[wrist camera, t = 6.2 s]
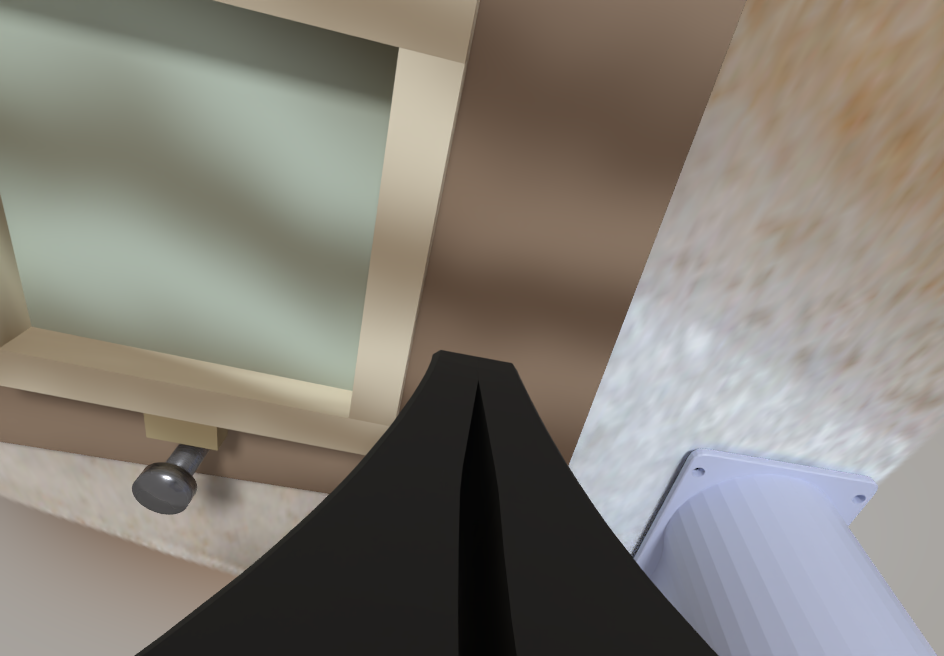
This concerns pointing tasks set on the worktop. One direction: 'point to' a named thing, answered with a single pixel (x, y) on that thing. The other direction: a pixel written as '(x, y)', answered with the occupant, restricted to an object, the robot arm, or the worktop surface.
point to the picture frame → (224, 206)
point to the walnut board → (506, 221)
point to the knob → (170, 481)
